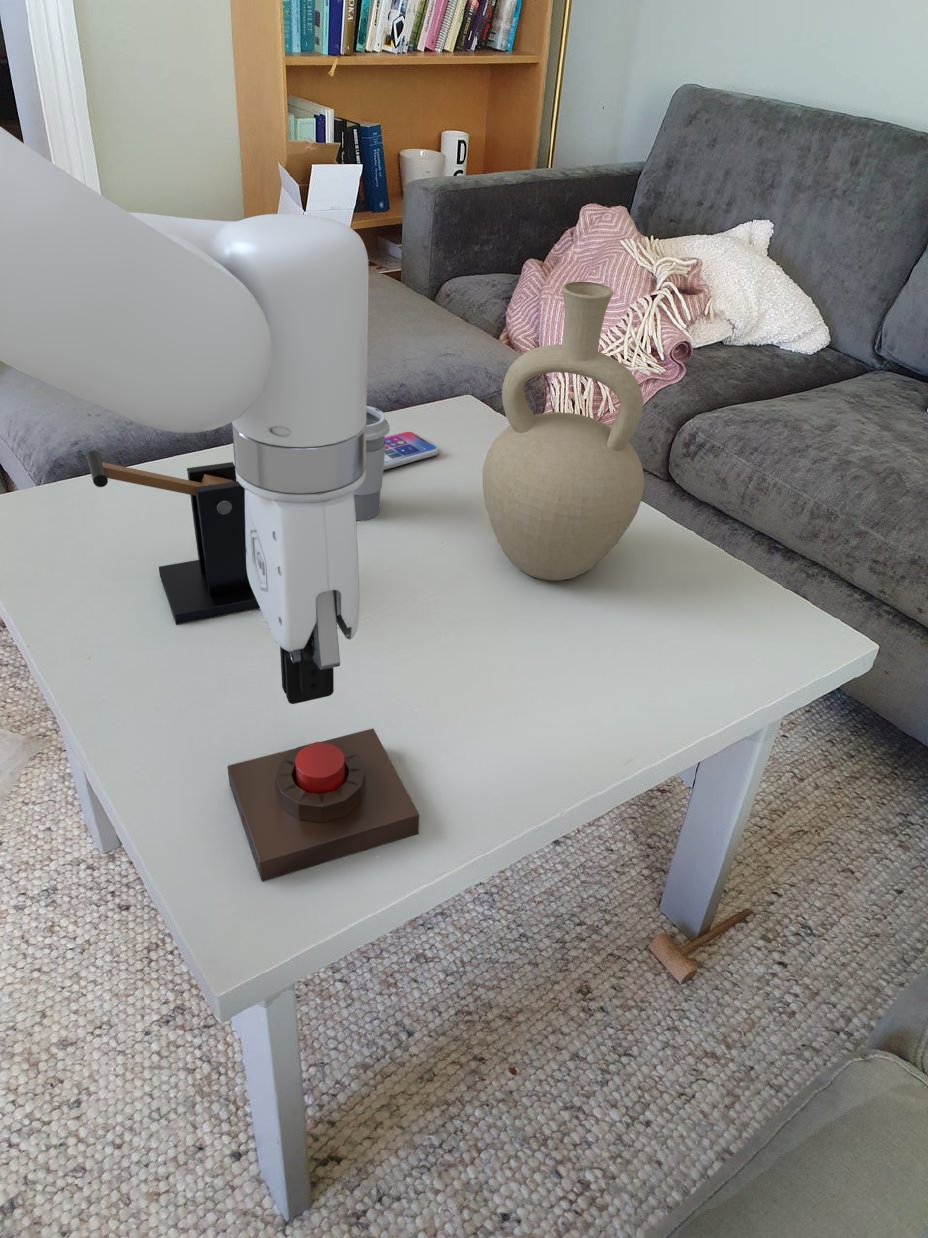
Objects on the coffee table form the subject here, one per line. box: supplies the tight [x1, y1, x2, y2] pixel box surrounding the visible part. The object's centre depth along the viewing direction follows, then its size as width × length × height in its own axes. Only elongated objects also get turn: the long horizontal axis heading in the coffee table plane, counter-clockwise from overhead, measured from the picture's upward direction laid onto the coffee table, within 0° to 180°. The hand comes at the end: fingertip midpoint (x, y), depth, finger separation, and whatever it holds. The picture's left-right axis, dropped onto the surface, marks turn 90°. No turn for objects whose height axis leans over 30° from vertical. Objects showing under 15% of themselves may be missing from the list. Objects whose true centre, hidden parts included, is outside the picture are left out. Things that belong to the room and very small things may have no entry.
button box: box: [226, 728, 420, 882], centre depth 69 cm, size 12×10×4 cm
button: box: [295, 742, 345, 794], centre depth 68 cm, size 4×4×2 cm
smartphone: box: [383, 431, 440, 471], centre depth 119 cm, size 7×1×15 cm
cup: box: [353, 405, 390, 521], centre depth 105 cm, size 7×7×12 cm
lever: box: [86, 450, 233, 496], centre depth 84 cm, size 13×5×2 cm, turn 115°
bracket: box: [158, 461, 260, 625], centre depth 90 cm, size 12×9×13 cm
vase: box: [482, 280, 645, 582], centre depth 92 cm, size 17×17×30 cm
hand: (308, 692), depth 63 cm, fingers closed
